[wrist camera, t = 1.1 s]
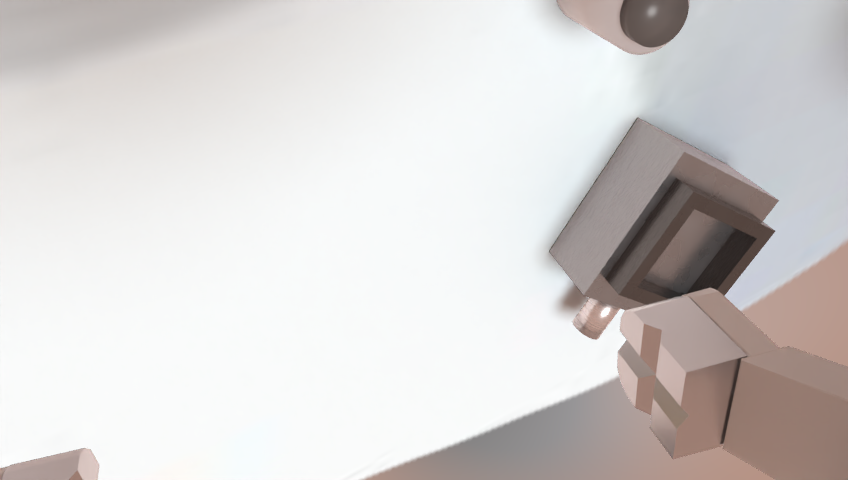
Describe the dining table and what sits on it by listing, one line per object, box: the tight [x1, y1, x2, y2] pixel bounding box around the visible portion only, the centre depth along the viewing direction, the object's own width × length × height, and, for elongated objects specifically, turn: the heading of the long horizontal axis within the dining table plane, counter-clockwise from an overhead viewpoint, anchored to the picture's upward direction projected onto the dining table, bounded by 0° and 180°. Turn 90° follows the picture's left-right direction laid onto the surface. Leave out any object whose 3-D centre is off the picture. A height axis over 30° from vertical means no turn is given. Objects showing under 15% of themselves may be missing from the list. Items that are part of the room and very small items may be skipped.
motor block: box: [549, 118, 779, 339], centre depth 54 cm, size 16×10×8 cm, turn 151°
